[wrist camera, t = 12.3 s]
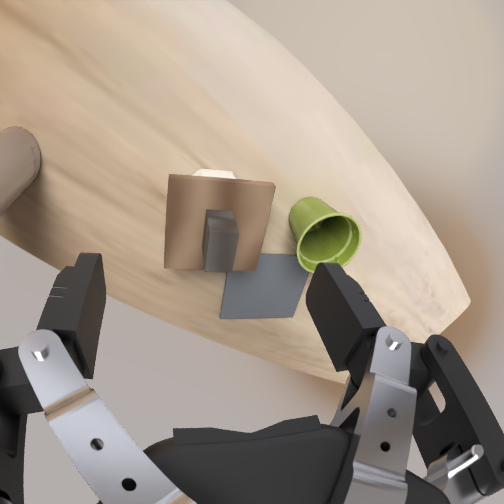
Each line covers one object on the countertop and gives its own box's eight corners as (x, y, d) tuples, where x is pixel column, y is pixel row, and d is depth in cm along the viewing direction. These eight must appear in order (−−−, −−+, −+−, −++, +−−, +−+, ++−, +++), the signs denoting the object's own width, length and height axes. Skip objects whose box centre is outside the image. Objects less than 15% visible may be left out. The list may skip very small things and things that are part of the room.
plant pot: (340, 186, 45) (368, 212, 38) (330, 238, 50) (353, 270, 43) (281, 186, 43) (302, 215, 36) (275, 242, 48) (292, 277, 41)
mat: (219, 316, 55) (220, 318, 55) (230, 252, 47) (231, 254, 47) (291, 315, 59) (292, 317, 58) (313, 255, 51) (314, 257, 51)
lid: (164, 262, 39) (163, 294, 34) (169, 174, 33) (166, 196, 28) (253, 265, 42) (264, 296, 37) (273, 182, 36) (289, 205, 31)
